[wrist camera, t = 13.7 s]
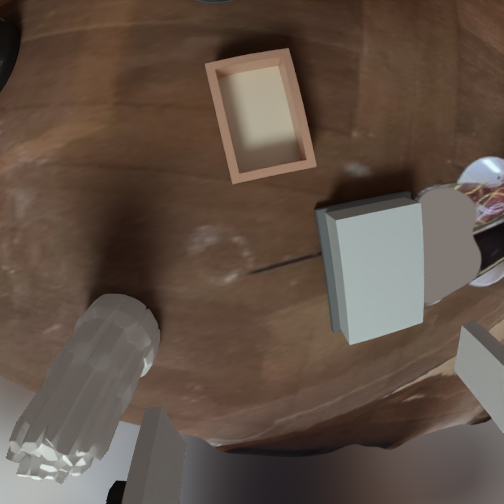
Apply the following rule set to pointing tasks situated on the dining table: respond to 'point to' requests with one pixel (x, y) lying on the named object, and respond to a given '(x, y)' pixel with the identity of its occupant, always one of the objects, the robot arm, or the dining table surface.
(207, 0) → the beverage bottle
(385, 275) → the board
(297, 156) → the brown open box
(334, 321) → the mat
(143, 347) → the white ridged column
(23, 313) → the dining table surface
